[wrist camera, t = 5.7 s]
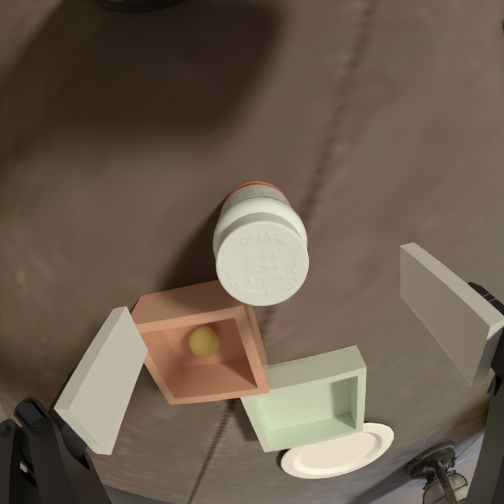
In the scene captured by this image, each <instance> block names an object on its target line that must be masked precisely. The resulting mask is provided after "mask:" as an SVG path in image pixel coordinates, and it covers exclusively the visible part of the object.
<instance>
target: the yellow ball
mask: <svg viewBox="0 0 504 504" xmlns="http://www.w3.org/2000/svg"><path fill="white" fill-rule="evenodd" d="M188 344H189V347H190V349H191V351H192V352H193V353H194V354H195V355H197V356H200V357H209V356H212V355H213V354H214V353H216V351H217V350H218V348H219V344H220V340H219V336H218V334H217V333H216V332H215V331H214V330H213V329H211V328H209V327H205V326H202V327H198V328H196V329H194V330H193V331H192V332H191V334H190V336H189V340H188Z"/></svg>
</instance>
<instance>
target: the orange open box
mask: <svg viewBox="0 0 504 504" xmlns="http://www.w3.org/2000/svg"><path fill="white" fill-rule="evenodd" d="M131 317H132V319H133V321H134V323H135V325H136V327H137V329H138V331H139V333H140V335H141V337H142V339H143V341H144V343H145V345H146V347H147V349H148V352H147V355H146V357H145V360H144V363H145V365H146V367H147V369H148V370H149V372H150V374H151V375H152V377H153V379H154V380H155V382H156V384H157V385H158V387H159V388H160V390H161V392H162V393H163V395H164V396H165V398H166V399H167V401H168V402H169V404H170V405H171V404H185V403H197V402H207V401H216V400H224V399H232V398H239V397H246V396H252V395H259V394H265V393H270V387H269V376H268V366H267V356H266V353H265V349H264V346H263V342H262V339H261V335H260V332H259V328H258V324H257V321H256V317H255V314H254V310H253V307H252V305H249V304H246V303H243V302H241V301H239V300H237V299H235V298H234V297H232V296H231V295H230V294H229V293H228V292H227V291H226V290H225V289H224V287H223V286H222V284H221V283H220V281H219V280H214V281H210V282H205V283H200V284H195V285H190V286H186V287H181V288H176V289H171V290H166V291H161V292H156V293H151V294H146V295H142V296H141V297H140V299H139V301H138V303H137V304H136V306H135V308H134V310H133V311H132V313H131ZM202 326H205V327H209V328H211V329H213V330H214V331H215V332H216V333H217V334H218V336H219V340H220V344H219V348H218V350H217V351H216V353H214V354H213V355H212V356H209V357H200V356H197V355H195V354H194V353H193V352H192V351H191V349H190V347H189V344H188V340H189V336H190V334H191V332H192V331H193V330H194V329H196V328H198V327H202Z"/></svg>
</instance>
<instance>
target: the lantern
mask: <svg viewBox="0 0 504 504" xmlns="http://www.w3.org/2000/svg"><path fill="white" fill-rule="evenodd" d="M454 456H455V452H454V441H452V440H450V441H445V442H442V443H439V444H437V445H435V446H433V447H431V448H429V449H427V450H426V451H424V452H422V453H421V454H419V455H418V456H416V457H415V458H413V459H412V460H411V461H410V462H409V463H408V464H407V465H406V466H405V468H404V471H405V472H406V473H407V474H409V475H411V478H412V479H427V481H428V482H427V483H426V485H425V486H424V487H423V489H424V490H425V492H424V493H423V504H464V502H465V499H466V496H467V494H468V489H467V485H468V483H467V481H466V479H465V478H464V476H462V475H461V474H459V473H456V470H452V471H449V472H447V471H448V468H449V467H451V468H453V467H454V466H455V460H456V458H457V457H454ZM448 465H449V467H448ZM463 478H464V480H465V481H466V483H467V484H466V483H465V482H464V480H463Z"/></svg>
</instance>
